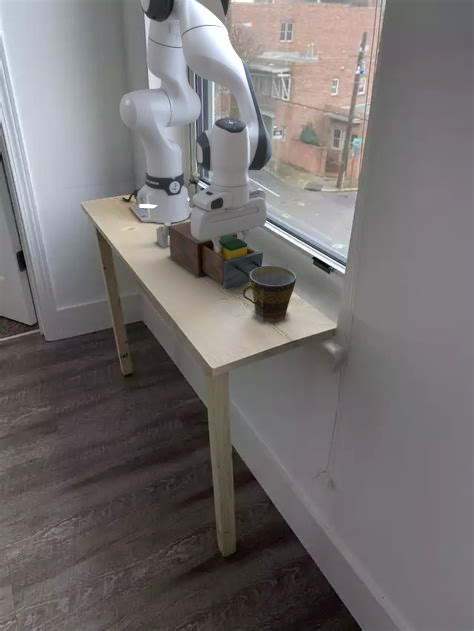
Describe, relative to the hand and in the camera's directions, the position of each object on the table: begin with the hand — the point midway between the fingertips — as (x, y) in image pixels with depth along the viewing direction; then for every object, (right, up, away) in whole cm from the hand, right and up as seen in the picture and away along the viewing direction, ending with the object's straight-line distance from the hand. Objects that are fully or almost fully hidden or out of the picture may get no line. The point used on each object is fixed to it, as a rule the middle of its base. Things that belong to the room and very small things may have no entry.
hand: (229, 249), depth 125 cm
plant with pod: (-10, +8, +30) cm, 32 cm away
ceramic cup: (+8, -17, -12) cm, 22 cm away
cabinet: (-7, -2, +13) cm, 15 cm away
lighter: (-19, +3, +22) cm, 29 cm away
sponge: (0, -1, +1) cm, 2 cm away
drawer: (+1, -7, +2) cm, 8 cm away
